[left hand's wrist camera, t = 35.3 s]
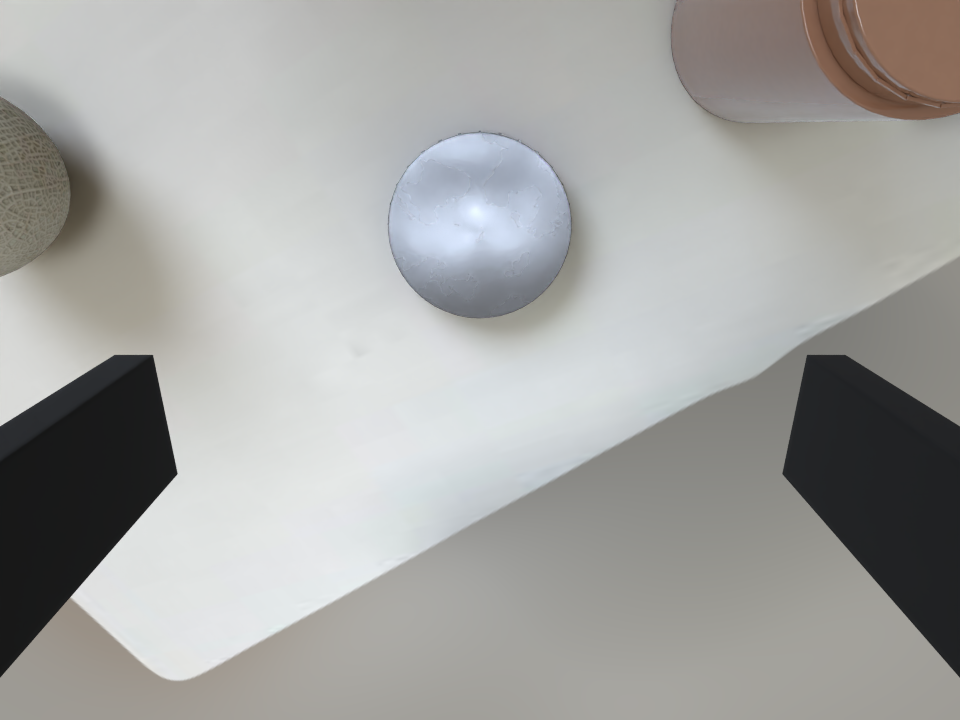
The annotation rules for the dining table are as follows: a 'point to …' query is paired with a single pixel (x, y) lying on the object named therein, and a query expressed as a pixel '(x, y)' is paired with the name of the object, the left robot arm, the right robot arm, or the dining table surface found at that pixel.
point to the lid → (479, 225)
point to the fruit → (28, 189)
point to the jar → (819, 59)
